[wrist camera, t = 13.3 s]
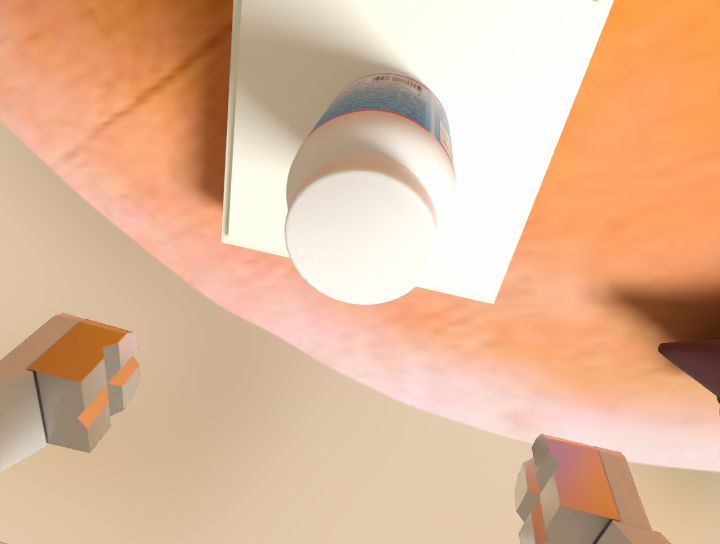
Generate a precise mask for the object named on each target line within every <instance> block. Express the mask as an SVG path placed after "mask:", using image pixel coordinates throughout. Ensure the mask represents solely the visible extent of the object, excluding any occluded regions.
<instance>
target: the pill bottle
mask: <svg viewBox="0 0 720 544" xmlns="http://www.w3.org/2000/svg"><path fill="white" fill-rule="evenodd" d="M456 199H457V190H456V178H455V170H454V161H453V150H452V142H451V134H450V126H449V122H448V118H447V115H446V112H445V110H444V108H443V106H442V104H441V102H440V101H439V99H438V98H437V96H436V95H435V94H434V93H433V92H432V91H431V90H430V89H429V88H428V87H427V86H426V85H424V84H423V83H422V82H420V81H418V80H417V79H415V78H413V77H410V76H408V75H405V74H401V73H396V72H377V73H372V74H368V75H365V76H363V77H360V78H358V79H356V80H355V81H353V82H352V83H350V84H349V85H347V86H346V87H345V88H344V89H343V90H342V91H341V92H340V93H339V94H338V96H337V97H336V98H335V99H334V101H333V102H332V103H331V105H330V106H329V108H328V109H327V110H326V112H325V113H324V114H323V116H322V117H321V118H320V120H319V121H318V123H317V124H316V125H315V127H314V128H313V130H312V131H311V133H310V134H309V135H308V137H307V138H306V140H305V141H304V142H303V144H302V145H301V147H300V148H299V150H298V152H297V154H296V156H295V158H294V160H293V162H292V165H291V167H290V170H289V174H288V179H287V186H286V201H287V207H288V212H287V215H286V221H285V227H284V233H285V243H286V248H287V251H288V254H289V257H290V259H291V261H292V263H293V265H294V266H295V268H296V270H297V271H298V272H299V273H300V275H301V276H302V277H303V278H304V279H305V280H306V281H307V282H308V283H309V284H310V285H312V286H313V287H314V288H315V289H317V290H318V291H320V292H322V293H323V294H325V295H327V296H329V297H332V298H334V299H337V300H340V301H344V302H348V303H353V304H365V305H368V304H377V303H383V302H386V301H390V300H393V299H396V298H398V297H400V296H402V295H404V294H406V293H407V292H409V291H410V290H412V289H413V288H414V287H415V286H416V285H417V284H418V283H419V282H420V281H421V280H422V279H423V278H424V277H425V275H426V274H427V272H428V270H429V269H430V267H431V265H432V263H433V260H434V257H435V253H436V248H437V247H438V246H439V245H440V243H441V242H442V241H443V239H444V237H445V236H446V234H447V232H448V230H449V228H450V226H451V223H452V221H453V218H454V213H455V209H456Z"/></svg>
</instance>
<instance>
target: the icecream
mask: <svg viewBox="0 0 720 544" xmlns="http://www.w3.org/2000/svg"><path fill="white" fill-rule="evenodd" d="M658 351H659V352H660V353H661V354H662V355H663V356H664V357H666V358H667V359H668V360H669V361H671V362H672V363H673V364H675V365H676V366H677V367H679V368H680V369H682V370H683V371H684V372H686V373H687V374H688V375H690V376H691V377H692V378H694V379H695V380H696V381H698V382H699V383H700V384H702V385H703V386H704V387H706V388H707V389H708V390H710V391H711V392H712V393H713V394H715V395H716V396H717V400H718V402H719V403H720V339H710V340H699V341H686V342H670V343H662V344H660V345H659V347H658Z"/></svg>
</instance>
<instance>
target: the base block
mask: <svg viewBox="0 0 720 544" xmlns="http://www.w3.org/2000/svg"><path fill="white" fill-rule="evenodd" d="M613 1H614V0H234V2H233V22H232V42H231V62H230V82H229V102H228V122H227V142H226V162H225V182H224V203H223V223H222V242H223V243H227V244H231V245H236V246H240V247H245V248H249V249H254V250H258V251H262V252H267V253H271V254H276V255H280V256H284V257H289V254H288V251H287V248H286V243H285V233H284V227H285V221H286V215H287V212H288V207H287V201H286V186H287V179H288V174H289V170H290V167H291V165H292V162H293V160H294V158H295V156H296V154H297V152H298V150H299V148H300V147H301V145H302V144H303V142H304V141H305V140H306V138H307V137H308V135H309V134H310V133H311V131H312V130H313V128H314V127H315V125H316V124H317V123H318V121H319V120H320V118H321V117H322V116H323V114H324V113H325V112H326V110H327V109H328V108H329V106H330V105H331V103H332V102H333V101H334V99H335V98H336V97H337V96H338V94H339V93H340V92H341V91H342V90H343V89H344V88H345V87H346V86H347V85H349V84H350V83H352V82H353V81H355V80H356V79H358V78H360V77H363V76H365V75H368V74H372V73H377V72H396V73H401V74H405V75H408V76H410V77H413V78H415V79H417V80H418V81H420V82H422V83H423V84H424V85H426V86H427V87H428V88H429V89H430V90H431V91H432V92H433V93H434V94H435V95H436V96H437V98H438V99H439V101H440V102H441V104H442V106H443V108H444V110H445V112H446V115H447V118H448V122H449V126H450V134H451V142H452V150H453V161H454V170H455V178H456V190H457V199H456V209H455V213H454V218H453V221H452V223H451V226H450V228H449V230H448V232H447V234H446V236H445V237H444V239H443V241H442V242H441V243H440V245H439V246H438V247H437V248H436V253H435V257H434V260H433V263H432V265H431V267H430V269H429V270H428V272H427V274H426V275H425V277H424V278H423V279H422V280H421V281H420V282H419V283H418V284H417V285H416V286H417V287H421V288H426V289H430V290H434V291H439V292H443V293H448V294H452V295H456V296H461V297H465V298H470V299H474V300H479V301H483V302H487V303H492V304H494V301H495V299H496V296H497V294H498V291H499V289H500V286H501V284H502V281H503V279H504V276H505V274H506V271H507V268H508V266H509V263H510V261H511V258H512V256H513V253H514V251H515V248H516V246H517V243H518V241H519V238H520V236H521V233H522V231H523V228H524V226H525V223H526V221H527V218H528V215H529V213H530V210H531V208H532V205H533V203H534V200H535V198H536V195H537V193H538V190H539V188H540V185H541V183H542V180H543V178H544V175H545V173H546V170H547V168H548V165H549V162H550V160H551V157H552V155H553V152H554V150H555V147H556V145H557V142H558V140H559V137H560V135H561V132H562V130H563V127H564V125H565V122H566V120H567V117H568V115H569V112H570V109H571V107H572V104H573V102H574V99H575V97H576V94H577V92H578V89H579V87H580V84H581V82H582V79H583V77H584V74H585V72H586V69H587V67H588V64H589V62H590V59H591V56H592V54H593V51H594V49H595V46H596V44H597V41H598V39H599V36H600V34H601V31H602V29H603V26H604V24H605V21H606V19H607V16H608V14H609V11H610V8H611V6H612V3H613ZM289 258H290V257H289Z"/></svg>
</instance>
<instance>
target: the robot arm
mask: <svg viewBox="0 0 720 544" xmlns="http://www.w3.org/2000/svg"><path fill="white" fill-rule="evenodd" d="M137 349H138V338H137V335H136V334H135V333H133V332H131V331H128V330H124V329H121V328H117V327H114V326H110V325H106V324H103V323H99V322H95V321H92V320H88V319H82V318H79V317H75V316H72V315H68V314H65V313H62V314H58V315H55V316H54V317H52V318H51V319H50V320H49V321H48V322H46V323H45V324H44V325H43V326H41V327H40V328H39V329H38V330H37V331H35V332H34V333H33V334H32V335H31V336H29V337H28V338H27V339H26V340H25V341H23V342H22V343H21V344H20V345H19V346H17V347H16V348H15V349H14V350H12V351H11V352H10V353H9V354H8V355H6V356H5V357H4V358H3V359H2V360H0V471H2V470H4V469H6V468H8V467H9V466H11V465H13V464H15V463H16V462H18V461H20V460H22V459H24V458H26V457H27V456H29V455H31V454H33V453H34V452H36V451H38V450H40V449H42V448H43V447H45V446H46V445H47V443H49V444H54V445H58V446H62V447H67V448H71V449H75V450H80V451H84V452H88V453H90V452H91V451H92V450H93V449H94V448H95V446H96V445H97V444H98V442H99V441H100V440H101V439H102V437H103V436H104V435H105V433H106V432H107V431H108V430H109V428H110V427H111V424H110V416H112V415H114V414H116V413H118V412H120V411H123V410H124V409H125V408H126V406H127V405H128V404H129V402H130V401H131V399H132V397H133V395H134V393H135V390H136V388H137V386H138V381H139V376H140V367H139V364H138V363H137V361H136V360H135V359H134V357H133V356H132V355H133V354H134V353H135V352H136V350H137ZM532 451H533V458H532V459H530V460H528V461H526V462H524V463H523V465H522V467H521V470H520V472H519V474H518V478H517V483H516V488H515V503H516V512H517V513H518V514H519V516H520V517H521V518H522V520H523V521H524V522H525V523H524V525H523V527H522V528H521V530H520V532H519V538H520V544H671V543H670V542H669V541H668V540H667V539H666V538H665V537H664V536H663V535H662V534H661V533H660V532H656V531H653V530H652V529H651V526H650V523H649V521H648V518H647V515H646V513H645V510H644V507H643V504H642V502H641V499H640V496H639V494H638V491H637V488H636V485H635V483H634V480H633V477H632V475H631V472H630V469H629V466H628V464H627V461H626V458H625V457H624V456H623V455H622V454H621V452H616V451H612V450H608V449H603V448H599V447H595V446H594V447H592V446H590V445H585V444H581V443H577V442H573V441H569V440H565V439H561V438H557V437H552V436H548V435H544V434H541V435H539V436H538V437H537V438H536V440H535V442H534V444H533V446H532ZM0 544H6V543H3V542H0Z"/></svg>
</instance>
